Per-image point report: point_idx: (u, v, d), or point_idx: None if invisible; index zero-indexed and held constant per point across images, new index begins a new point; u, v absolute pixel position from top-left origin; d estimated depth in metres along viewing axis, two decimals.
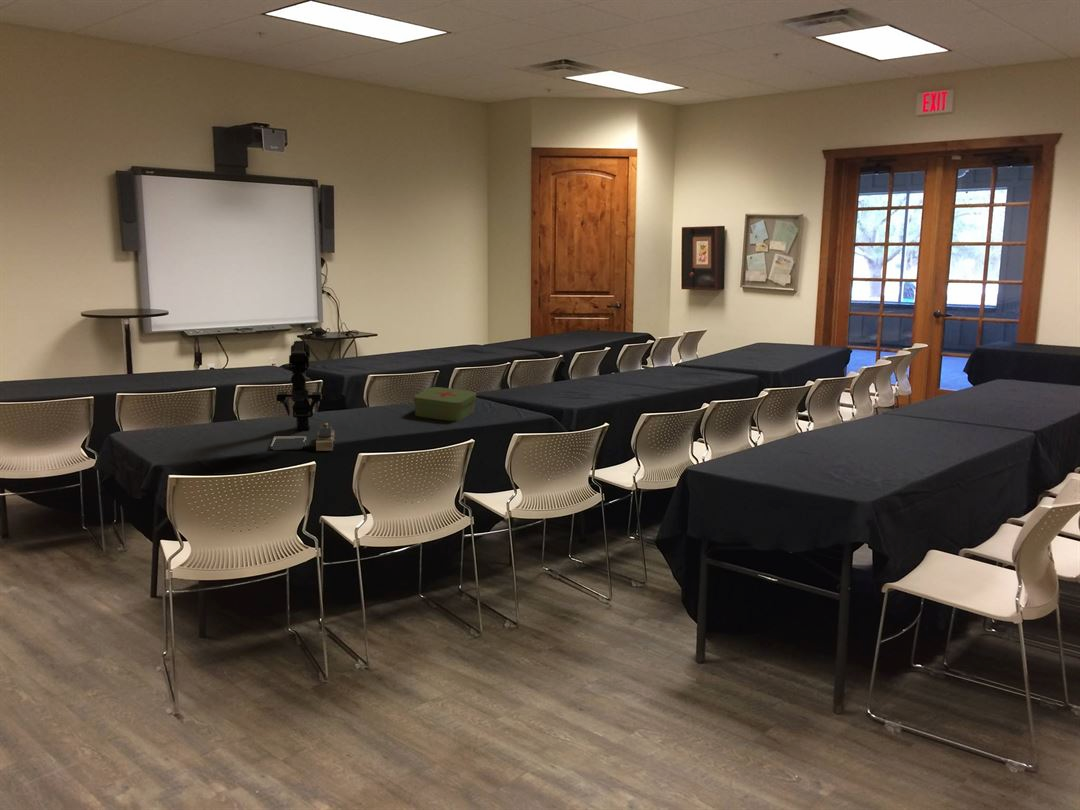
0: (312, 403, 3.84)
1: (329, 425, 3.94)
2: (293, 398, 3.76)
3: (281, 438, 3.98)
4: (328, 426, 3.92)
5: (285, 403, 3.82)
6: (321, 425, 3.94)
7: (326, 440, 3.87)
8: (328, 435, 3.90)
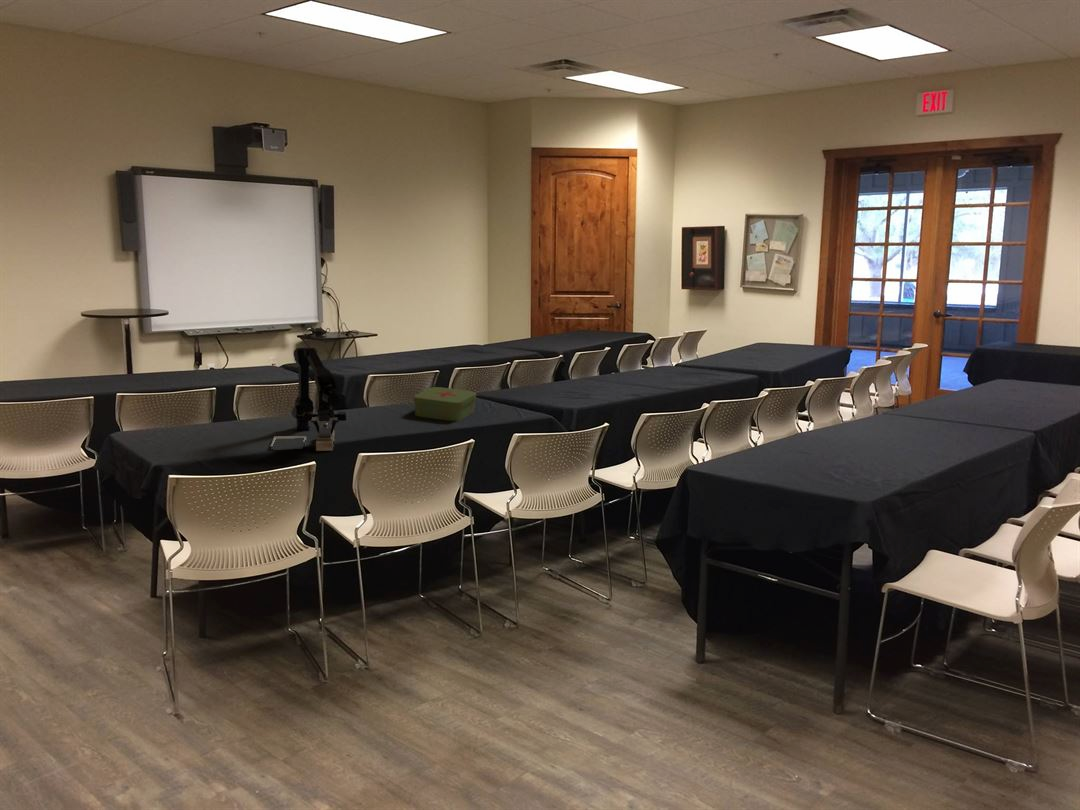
0: (333, 422, 3.90)
1: (329, 425, 3.94)
2: (320, 418, 3.83)
3: (281, 438, 3.98)
4: (328, 426, 3.92)
5: (316, 423, 3.89)
6: (321, 425, 3.94)
7: (326, 440, 3.87)
8: (328, 435, 3.90)
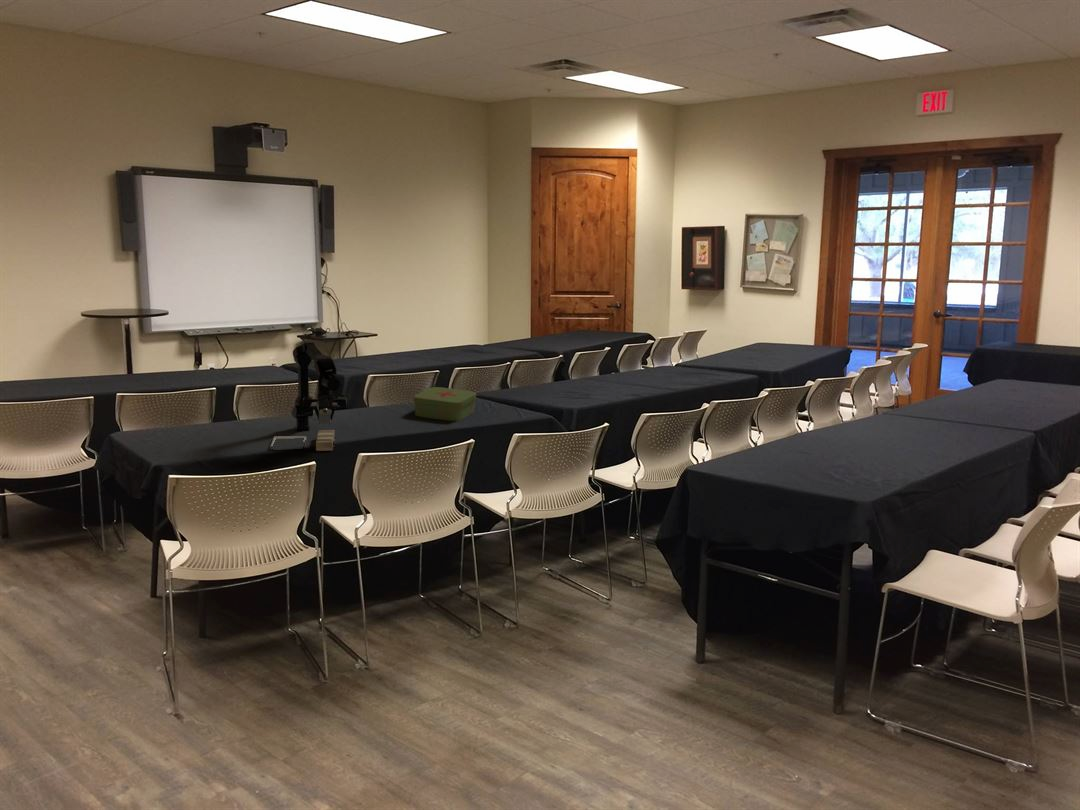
0: (333, 408, 3.89)
1: (329, 410, 3.92)
2: (319, 403, 3.81)
3: (281, 438, 3.98)
4: (328, 411, 3.91)
5: (315, 408, 3.87)
6: (321, 410, 3.92)
7: (326, 440, 3.87)
8: (327, 420, 3.88)
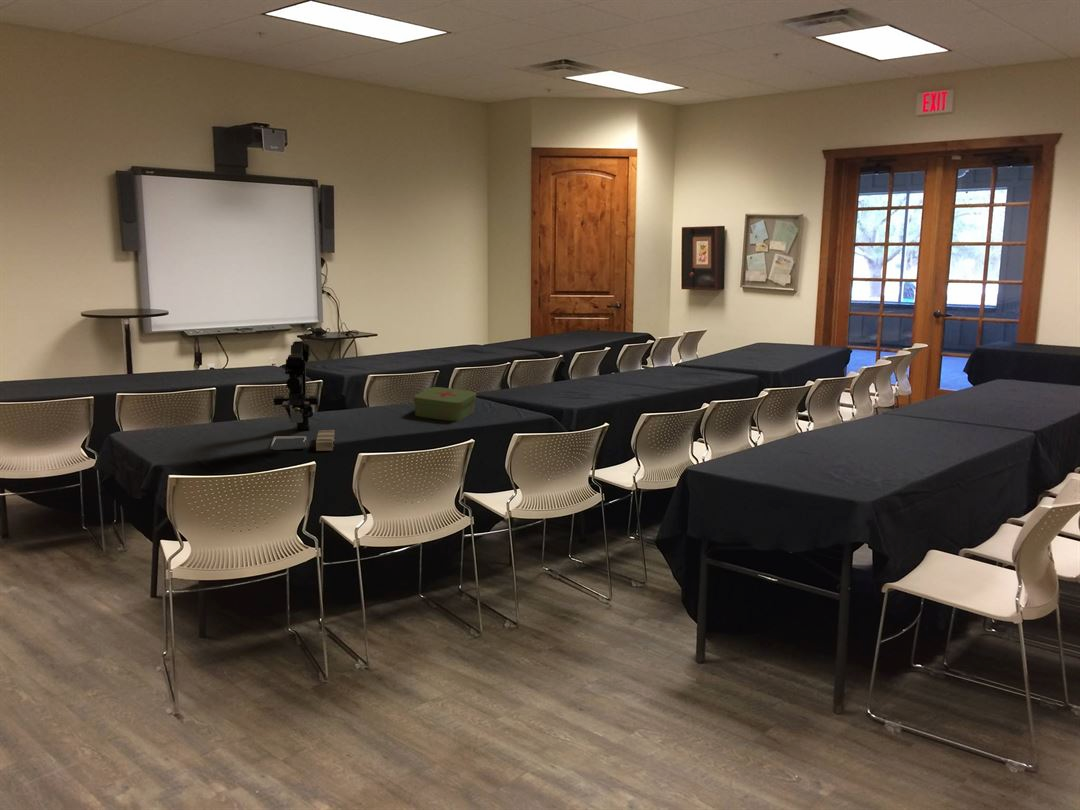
0: (304, 407, 3.86)
1: (300, 409, 3.90)
2: (291, 402, 3.79)
3: (281, 438, 3.98)
4: (299, 410, 3.88)
5: (287, 407, 3.85)
6: (292, 409, 3.89)
7: (326, 440, 3.87)
8: (299, 419, 3.86)
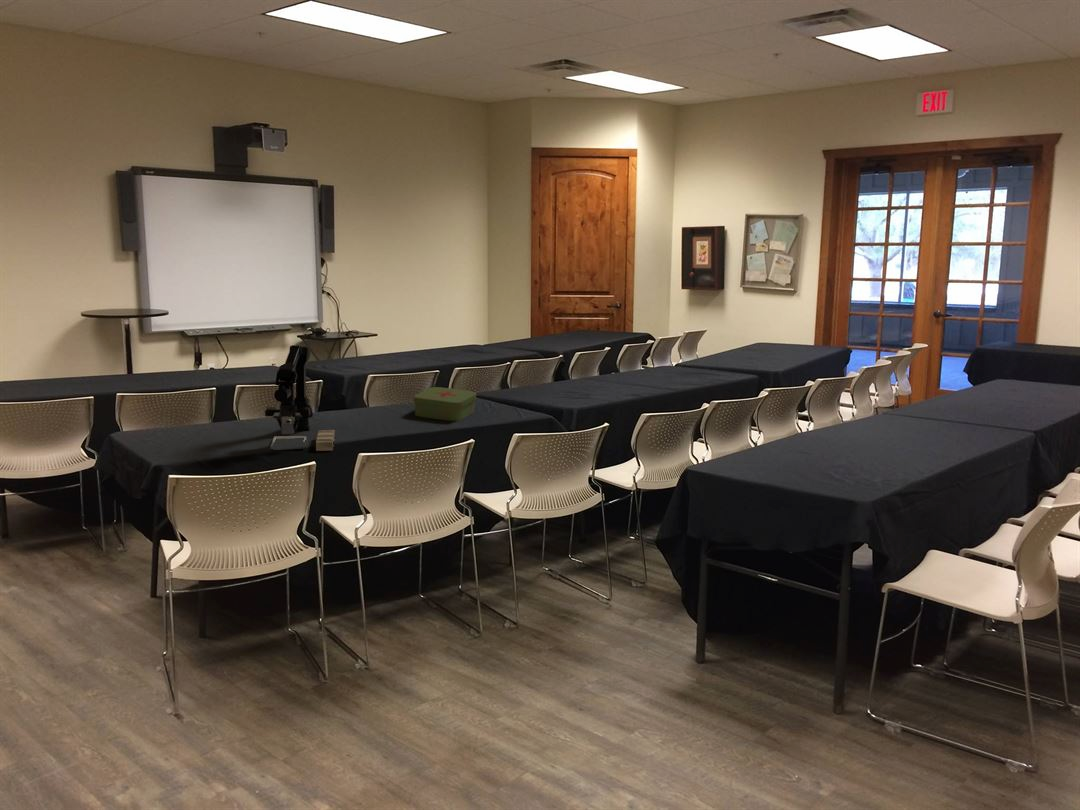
0: (296, 418, 3.87)
1: (292, 421, 3.91)
2: (281, 413, 3.80)
3: (281, 438, 3.98)
4: (291, 422, 3.89)
5: (278, 418, 3.86)
6: (284, 421, 3.90)
7: (326, 440, 3.87)
8: (290, 430, 3.87)
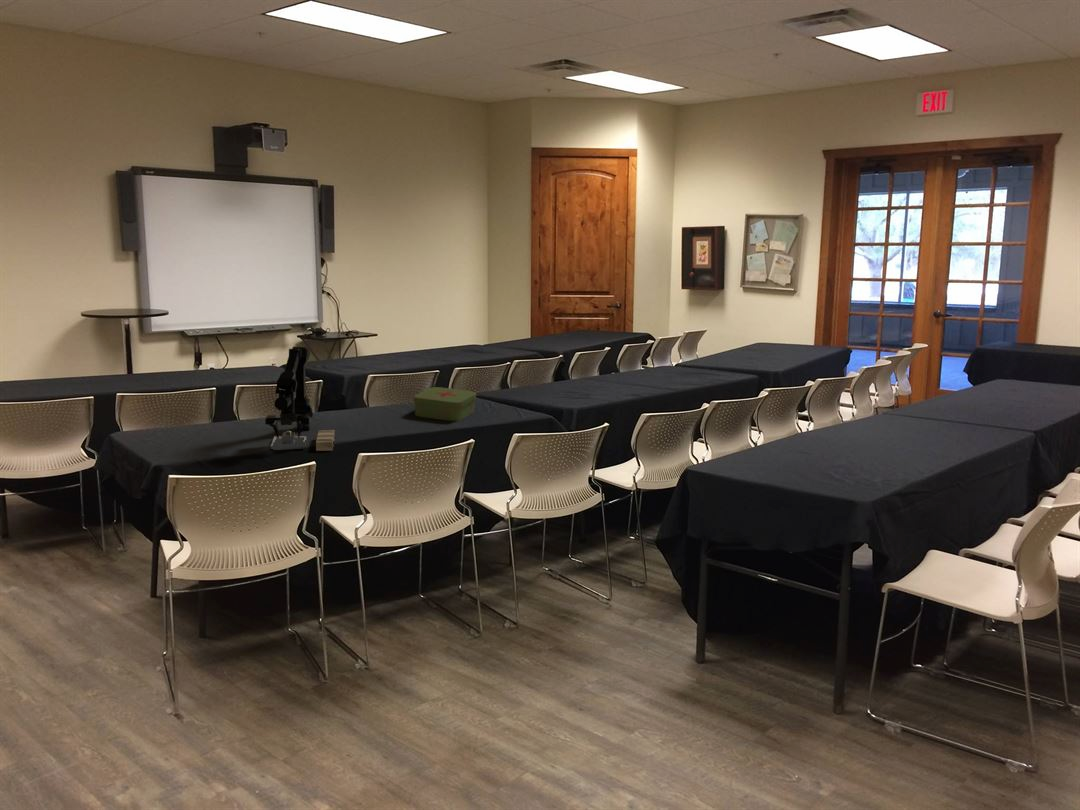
0: (300, 426, 3.88)
1: (292, 433, 3.92)
2: (282, 422, 3.81)
3: (281, 438, 3.98)
4: (291, 434, 3.91)
5: (274, 426, 3.86)
6: (284, 433, 3.92)
7: (326, 440, 3.87)
8: (290, 442, 3.88)
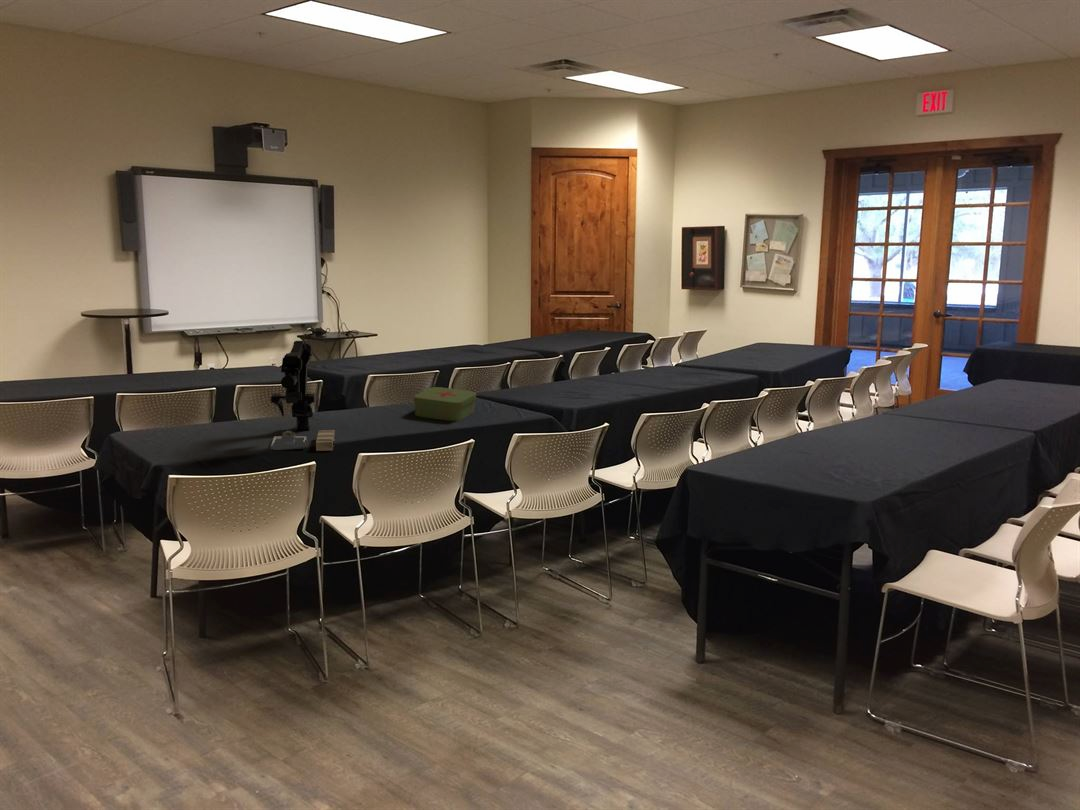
0: (306, 404, 3.92)
1: (292, 433, 3.92)
2: (287, 400, 3.84)
3: (281, 438, 3.98)
4: (291, 434, 3.91)
5: (279, 404, 3.90)
6: (284, 433, 3.92)
7: (326, 440, 3.87)
8: (290, 442, 3.88)
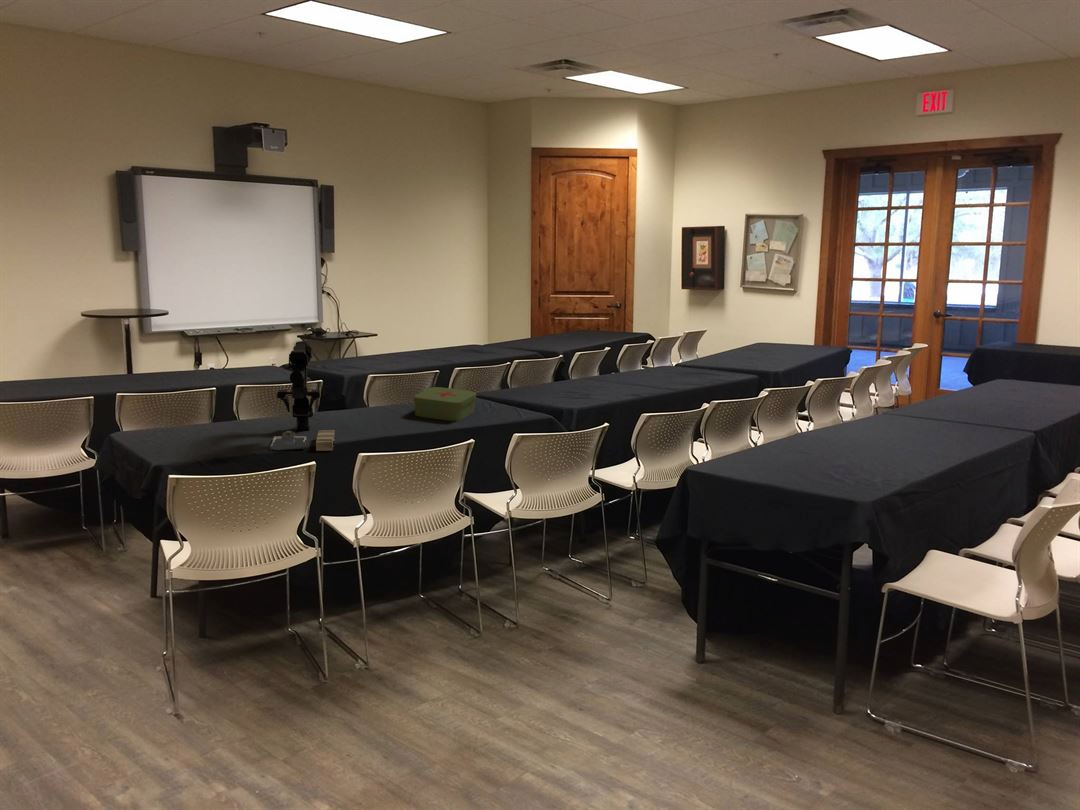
0: (311, 400, 3.97)
1: (292, 433, 3.92)
2: (293, 395, 3.90)
3: (281, 438, 3.98)
4: (291, 434, 3.91)
5: (285, 400, 3.95)
6: (284, 433, 3.92)
7: (326, 440, 3.87)
8: (290, 442, 3.88)
